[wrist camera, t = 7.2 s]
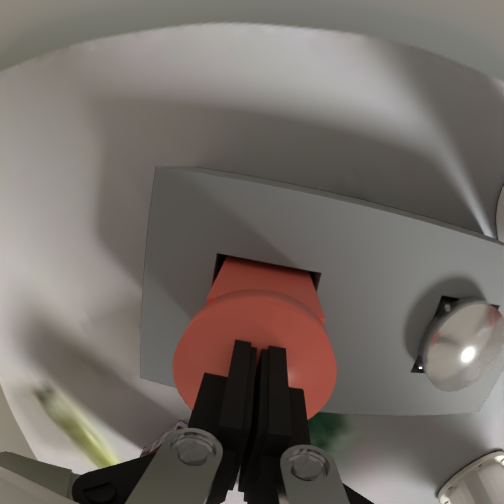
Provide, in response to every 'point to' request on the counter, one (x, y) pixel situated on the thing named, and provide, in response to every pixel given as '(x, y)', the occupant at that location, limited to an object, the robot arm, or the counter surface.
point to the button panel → (320, 279)
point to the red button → (259, 329)
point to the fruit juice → (500, 216)
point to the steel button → (461, 342)
